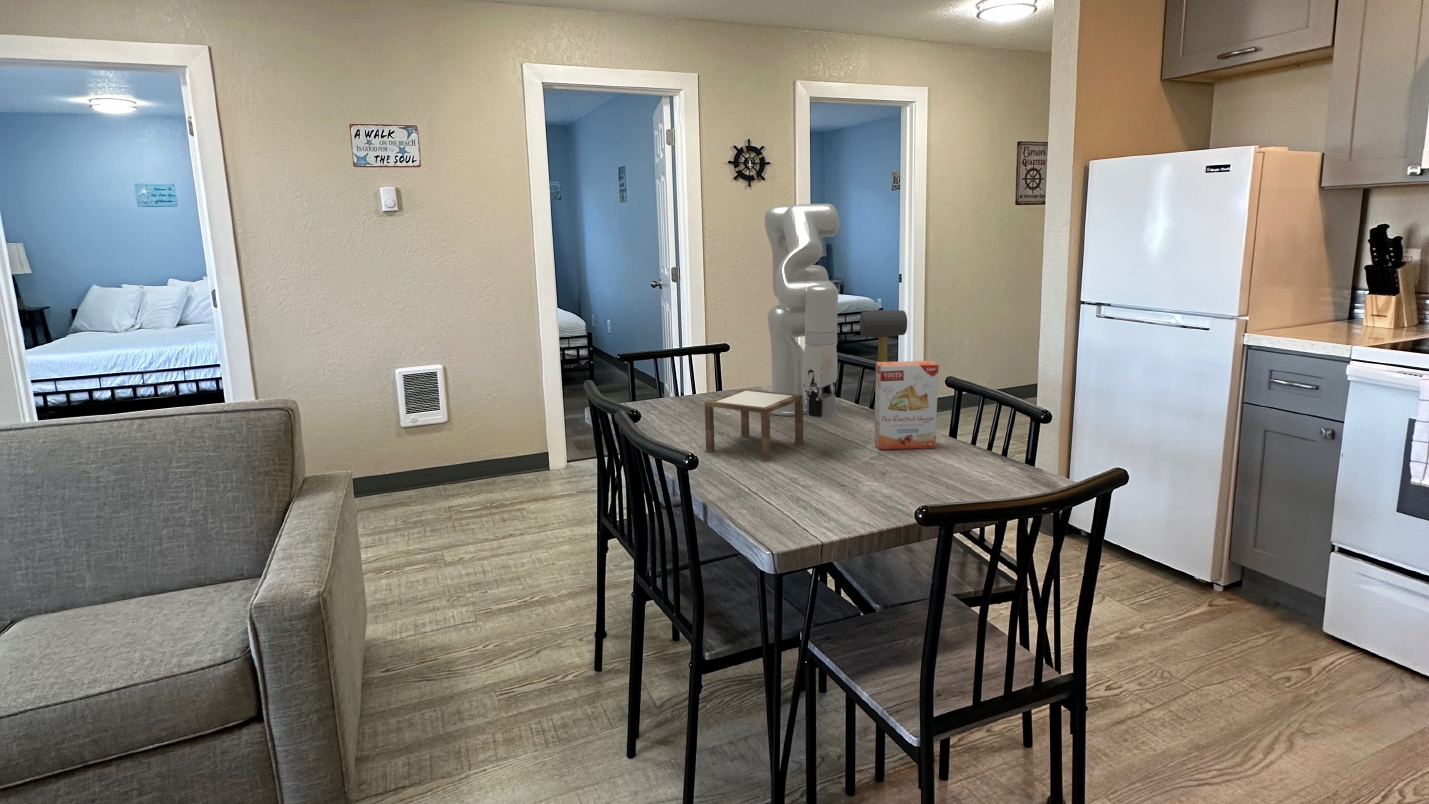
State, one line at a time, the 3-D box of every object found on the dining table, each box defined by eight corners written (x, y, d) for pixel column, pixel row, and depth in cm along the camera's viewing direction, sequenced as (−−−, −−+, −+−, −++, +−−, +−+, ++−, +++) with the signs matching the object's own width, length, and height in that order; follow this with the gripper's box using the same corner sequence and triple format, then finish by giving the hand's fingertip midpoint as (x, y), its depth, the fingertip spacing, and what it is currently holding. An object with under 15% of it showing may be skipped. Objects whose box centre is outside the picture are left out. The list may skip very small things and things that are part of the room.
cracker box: (879, 450, 196) (880, 365, 191) (873, 444, 202) (874, 361, 197) (936, 448, 196) (939, 363, 192) (929, 442, 202) (932, 359, 197)
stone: (816, 411, 198) (816, 391, 196) (835, 414, 195) (835, 394, 194) (806, 416, 194) (806, 396, 192) (825, 419, 191) (825, 398, 190)
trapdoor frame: (744, 435, 214) (743, 388, 212) (803, 443, 205) (802, 395, 202) (706, 451, 200) (704, 402, 198) (767, 461, 190) (766, 409, 188)
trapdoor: (745, 394, 209) (745, 390, 209) (793, 399, 202) (793, 395, 201) (714, 405, 198) (714, 401, 198) (763, 411, 190) (763, 407, 190)
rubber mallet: (900, 411, 235) (902, 307, 229) (906, 417, 228) (908, 310, 221) (858, 412, 235) (858, 309, 229) (862, 418, 228) (863, 312, 221)
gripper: (823, 331, 198) (823, 403, 203) (789, 342, 185) (789, 419, 189) (851, 333, 194) (850, 407, 199) (818, 345, 181) (818, 423, 185)
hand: (820, 412), depth 194 cm, fingers closed on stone, 5 cm apart
